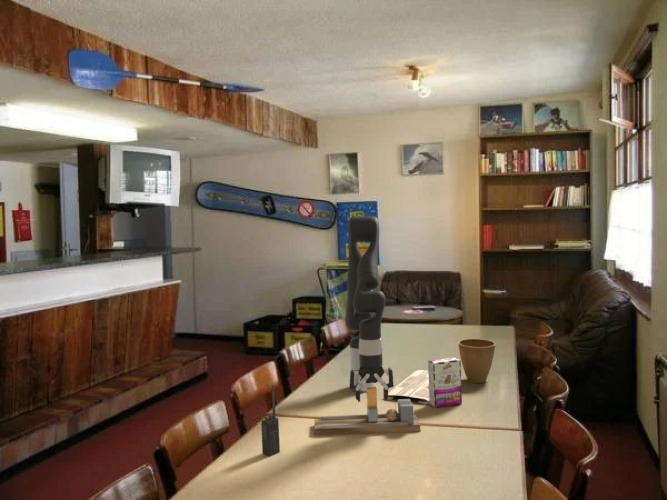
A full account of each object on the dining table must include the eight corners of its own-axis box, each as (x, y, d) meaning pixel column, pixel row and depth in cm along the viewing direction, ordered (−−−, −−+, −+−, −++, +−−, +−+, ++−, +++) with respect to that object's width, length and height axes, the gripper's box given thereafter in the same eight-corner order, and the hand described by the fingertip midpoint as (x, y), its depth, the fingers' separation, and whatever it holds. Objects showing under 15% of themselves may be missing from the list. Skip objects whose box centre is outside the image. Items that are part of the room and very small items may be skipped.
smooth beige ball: (385, 419, 191) (385, 407, 191) (397, 418, 191) (397, 406, 191) (386, 423, 187) (386, 411, 187) (399, 422, 187) (398, 410, 187)
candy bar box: (455, 400, 215) (454, 356, 214) (462, 404, 210) (461, 359, 209) (428, 403, 211) (427, 359, 210) (434, 408, 207) (433, 363, 206)
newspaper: (429, 406, 210) (429, 398, 210) (379, 400, 219) (379, 392, 219) (454, 379, 243) (454, 372, 243) (410, 374, 252) (410, 368, 252)
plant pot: (454, 383, 235) (453, 344, 234) (464, 374, 248) (463, 337, 247) (491, 387, 228) (490, 347, 227) (499, 377, 241) (498, 340, 241)
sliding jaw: (367, 417, 192) (366, 385, 192) (375, 417, 192) (375, 384, 192) (368, 424, 186) (367, 391, 185) (378, 424, 186) (377, 390, 185)
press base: (314, 425, 193) (314, 401, 193) (415, 421, 194) (415, 397, 194) (314, 435, 184) (313, 410, 184) (420, 431, 185) (419, 406, 185)
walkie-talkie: (272, 449, 174) (270, 384, 173) (280, 451, 172) (278, 385, 171) (261, 454, 171) (258, 388, 170) (269, 457, 169) (266, 390, 167)
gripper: (390, 348, 192) (392, 396, 193) (348, 349, 191) (349, 397, 192) (393, 353, 184) (395, 403, 185) (349, 355, 184) (350, 405, 185)
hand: (371, 400), depth 189 cm, fingers open, 8 cm apart
